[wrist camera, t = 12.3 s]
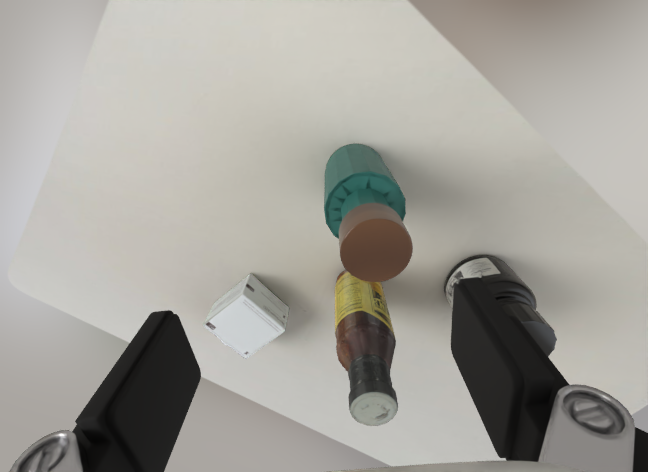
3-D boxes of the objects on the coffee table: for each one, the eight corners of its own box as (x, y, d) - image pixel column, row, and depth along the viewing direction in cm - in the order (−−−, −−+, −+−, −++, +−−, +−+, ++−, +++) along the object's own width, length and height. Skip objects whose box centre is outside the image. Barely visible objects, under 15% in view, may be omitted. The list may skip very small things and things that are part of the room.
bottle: (321, 147, 38) (318, 193, 24) (382, 140, 38) (416, 181, 23) (329, 204, 41) (330, 274, 27) (385, 197, 41) (417, 265, 26)
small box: (291, 307, 48) (287, 332, 43) (252, 334, 50) (245, 361, 46) (251, 271, 45) (242, 293, 41) (212, 302, 48) (200, 326, 43)
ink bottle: (467, 241, 43) (514, 297, 32) (525, 263, 45) (589, 325, 34) (429, 299, 47) (459, 366, 36) (483, 318, 48) (528, 388, 38)
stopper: (334, 195, 26) (336, 223, 22) (396, 187, 26) (412, 214, 21) (340, 249, 29) (343, 285, 24) (398, 242, 28) (413, 278, 23)
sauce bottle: (383, 297, 47) (417, 435, 29) (338, 304, 48) (345, 444, 30) (376, 257, 44) (409, 381, 26) (329, 265, 45) (331, 393, 27)
